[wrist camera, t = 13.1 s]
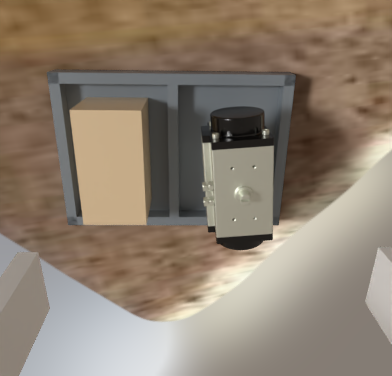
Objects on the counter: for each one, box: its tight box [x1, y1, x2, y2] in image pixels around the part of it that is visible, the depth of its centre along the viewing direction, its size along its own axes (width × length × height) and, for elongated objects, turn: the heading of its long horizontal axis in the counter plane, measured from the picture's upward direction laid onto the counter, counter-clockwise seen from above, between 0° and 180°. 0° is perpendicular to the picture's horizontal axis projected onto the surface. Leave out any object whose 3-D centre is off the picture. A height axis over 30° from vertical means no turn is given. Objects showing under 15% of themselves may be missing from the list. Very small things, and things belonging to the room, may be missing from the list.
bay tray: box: [47, 70, 296, 225], centre depth 37 cm, size 16×23×7 cm
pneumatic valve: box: [201, 106, 274, 250], centre depth 34 cm, size 6×12×12 cm, turn 4°
